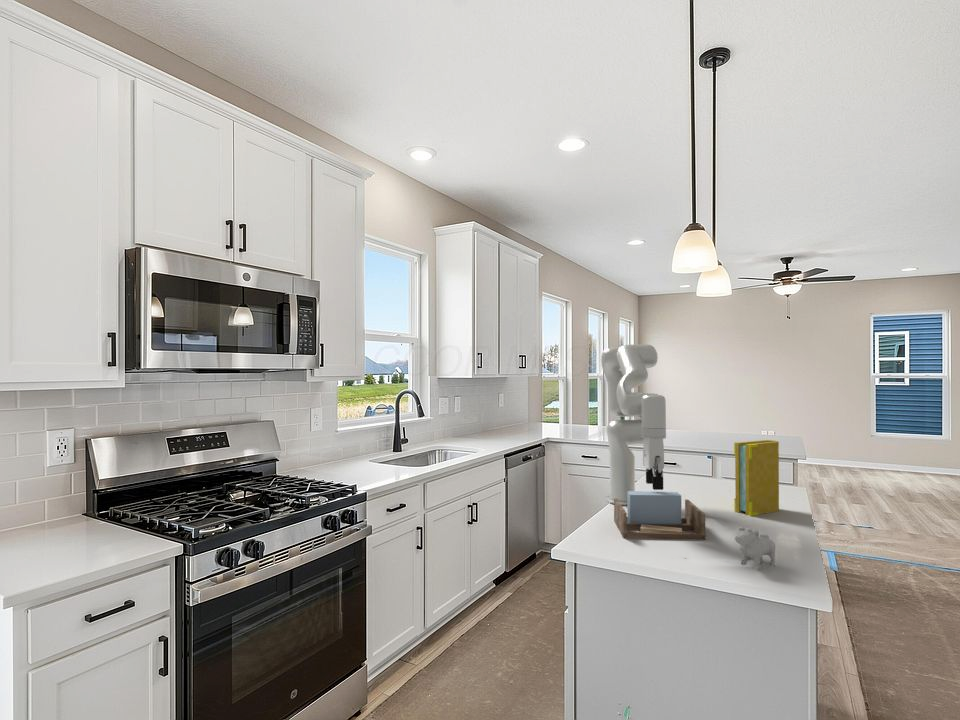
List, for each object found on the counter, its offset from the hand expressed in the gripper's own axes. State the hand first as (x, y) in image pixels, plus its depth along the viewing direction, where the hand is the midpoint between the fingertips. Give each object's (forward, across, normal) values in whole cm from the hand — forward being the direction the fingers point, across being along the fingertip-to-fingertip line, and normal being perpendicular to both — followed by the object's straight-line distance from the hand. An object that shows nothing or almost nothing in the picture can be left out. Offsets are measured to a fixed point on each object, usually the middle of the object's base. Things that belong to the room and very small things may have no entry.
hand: (654, 486), depth 182 cm
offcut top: (+13, +8, 0) cm, 15 cm away
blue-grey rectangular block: (+14, -1, 0) cm, 14 cm away
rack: (+14, +4, 0) cm, 15 cm away
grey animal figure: (+15, +29, +20) cm, 38 cm away
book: (+14, -27, +43) cm, 53 cm away
